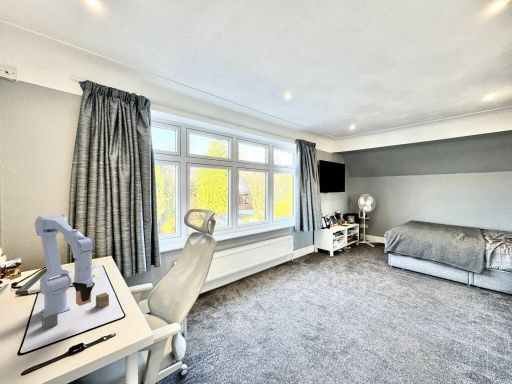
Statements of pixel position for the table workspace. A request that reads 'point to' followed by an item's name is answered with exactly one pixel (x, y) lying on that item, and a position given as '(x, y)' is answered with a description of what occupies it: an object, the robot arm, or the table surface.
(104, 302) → the walnut block
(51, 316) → the charcoal block
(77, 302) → the terracotta block
